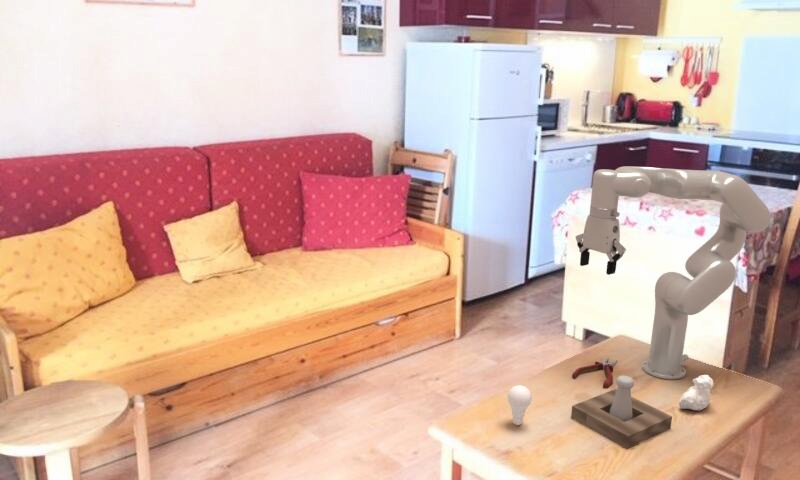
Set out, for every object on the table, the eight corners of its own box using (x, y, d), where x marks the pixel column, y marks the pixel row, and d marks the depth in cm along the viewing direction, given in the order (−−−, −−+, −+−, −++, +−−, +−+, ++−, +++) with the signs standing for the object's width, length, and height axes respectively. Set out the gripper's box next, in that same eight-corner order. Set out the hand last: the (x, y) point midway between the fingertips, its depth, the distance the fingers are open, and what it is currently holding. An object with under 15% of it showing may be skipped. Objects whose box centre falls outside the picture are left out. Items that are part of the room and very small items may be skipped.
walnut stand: (614, 400, 193) (615, 388, 192) (670, 428, 179) (672, 416, 178) (571, 417, 183) (572, 405, 182) (627, 448, 169) (628, 436, 168)
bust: (682, 421, 187) (711, 401, 179) (665, 397, 190) (692, 377, 183) (705, 408, 194) (734, 389, 187) (688, 385, 198) (715, 366, 190)
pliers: (630, 367, 215) (631, 360, 214) (607, 391, 199) (608, 382, 199) (595, 358, 221) (595, 350, 221) (570, 380, 206) (570, 372, 205)
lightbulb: (532, 423, 179) (535, 385, 177) (524, 433, 174) (527, 394, 172) (510, 416, 182) (513, 379, 180) (502, 426, 177) (504, 388, 174)
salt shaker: (604, 421, 181) (609, 377, 178) (615, 414, 185) (620, 370, 182) (624, 430, 177) (630, 385, 174) (635, 423, 181) (641, 378, 178)
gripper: (636, 217, 192) (629, 275, 196) (588, 205, 205) (582, 260, 210) (619, 220, 188) (612, 279, 192) (571, 208, 201) (566, 263, 206)
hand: (597, 269), depth 201 cm, fingers open, 9 cm apart
